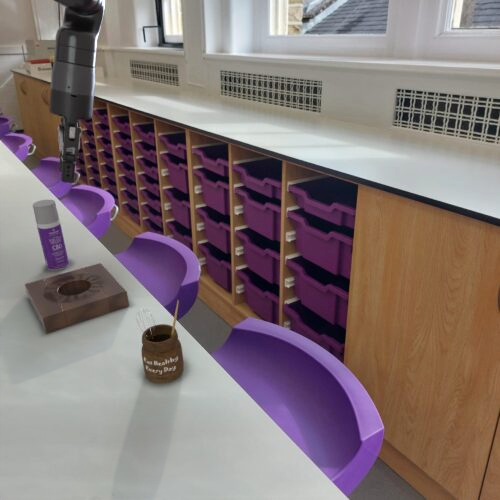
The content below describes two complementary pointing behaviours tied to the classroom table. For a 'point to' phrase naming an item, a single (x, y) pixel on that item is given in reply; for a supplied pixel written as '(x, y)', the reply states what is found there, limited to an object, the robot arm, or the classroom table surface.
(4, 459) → the classroom table surface
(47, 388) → the classroom table surface
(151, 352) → the utensil holder
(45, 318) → the socket plate
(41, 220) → the container
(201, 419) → the classroom table surface
